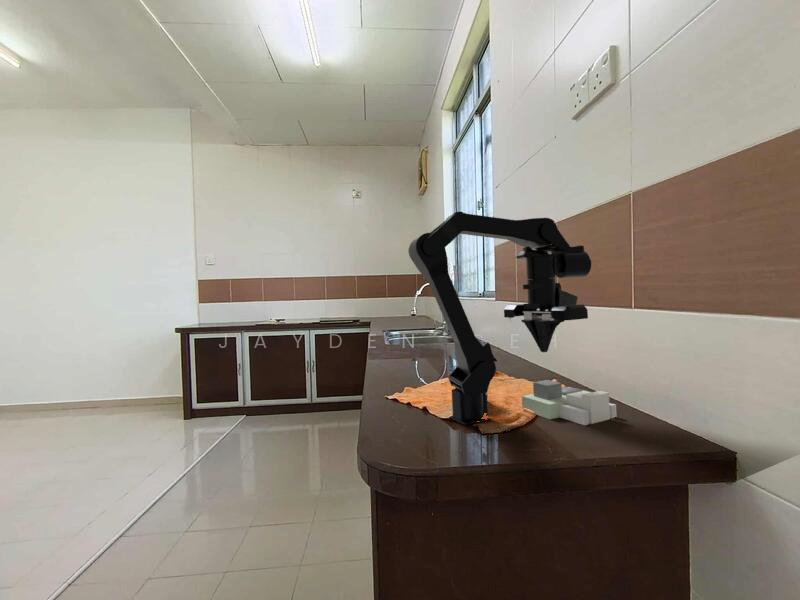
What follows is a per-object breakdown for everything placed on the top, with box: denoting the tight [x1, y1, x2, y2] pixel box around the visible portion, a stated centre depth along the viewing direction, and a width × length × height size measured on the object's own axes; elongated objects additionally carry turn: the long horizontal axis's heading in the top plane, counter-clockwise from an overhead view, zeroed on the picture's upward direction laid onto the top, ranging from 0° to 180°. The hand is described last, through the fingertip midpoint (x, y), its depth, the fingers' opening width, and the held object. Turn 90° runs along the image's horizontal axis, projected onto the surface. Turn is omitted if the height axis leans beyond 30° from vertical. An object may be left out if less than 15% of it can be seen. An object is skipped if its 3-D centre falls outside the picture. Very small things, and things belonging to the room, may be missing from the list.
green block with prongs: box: [521, 379, 617, 426], centre depth 85 cm, size 14×14×6 cm
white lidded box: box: [566, 390, 611, 425], centre depth 81 cm, size 5×6×5 cm
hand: (544, 352), depth 87 cm, fingers closed
